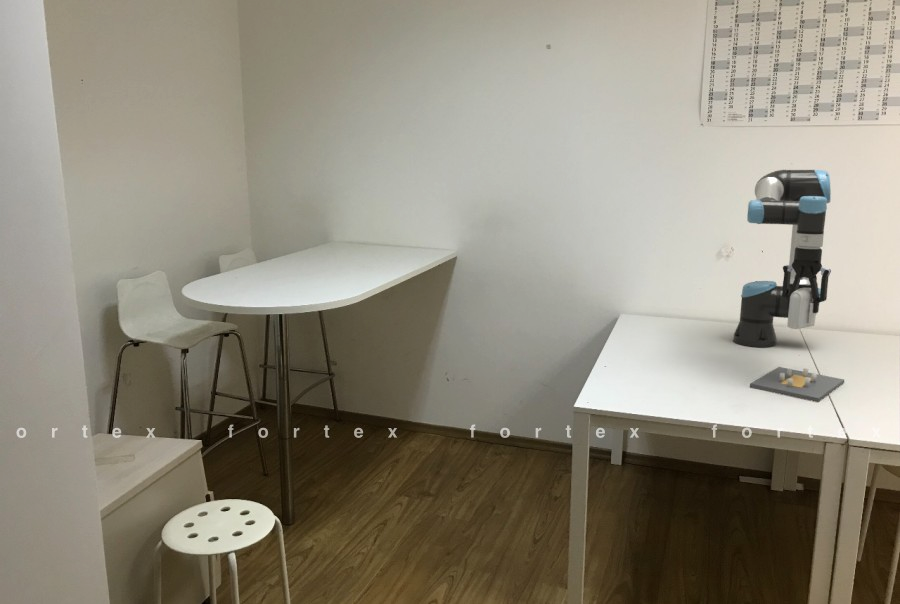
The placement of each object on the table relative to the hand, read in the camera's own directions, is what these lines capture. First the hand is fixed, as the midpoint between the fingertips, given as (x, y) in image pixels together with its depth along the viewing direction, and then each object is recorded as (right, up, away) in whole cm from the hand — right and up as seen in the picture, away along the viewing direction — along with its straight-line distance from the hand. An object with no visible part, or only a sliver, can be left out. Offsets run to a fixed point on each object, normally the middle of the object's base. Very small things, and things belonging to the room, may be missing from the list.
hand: (801, 321), depth 228 cm
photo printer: (0, -2, 0) cm, 2 cm away
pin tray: (-1, -20, 0) cm, 20 cm away
